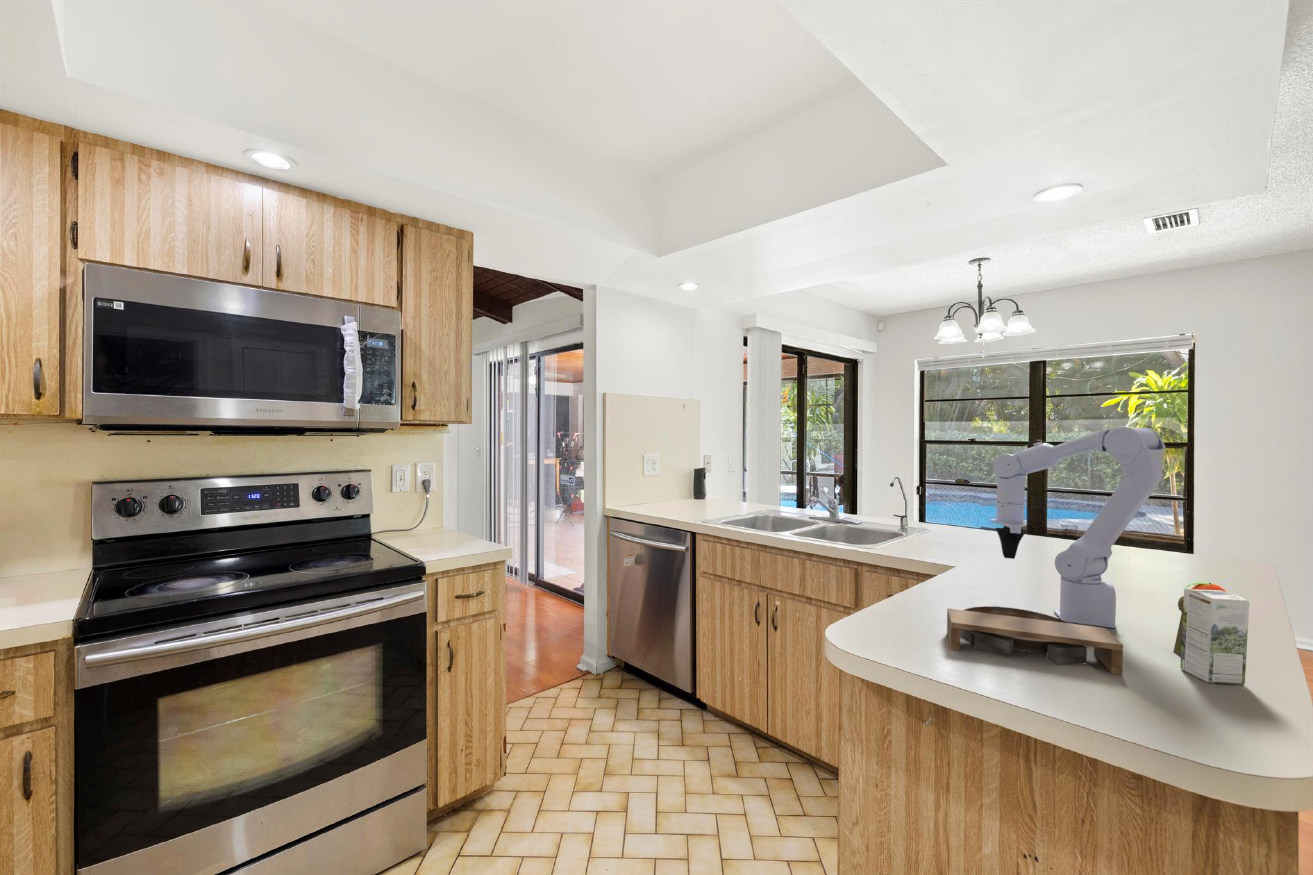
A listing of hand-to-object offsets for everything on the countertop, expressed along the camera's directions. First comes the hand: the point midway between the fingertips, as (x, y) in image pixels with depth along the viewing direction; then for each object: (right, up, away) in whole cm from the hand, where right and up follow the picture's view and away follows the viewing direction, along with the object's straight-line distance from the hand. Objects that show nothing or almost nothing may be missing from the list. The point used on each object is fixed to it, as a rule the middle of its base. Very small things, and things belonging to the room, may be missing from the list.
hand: (1009, 557), depth 137 cm
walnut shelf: (-17, -11, -33) cm, 39 cm away
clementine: (+41, -11, -8) cm, 43 cm away
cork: (+14, -11, -33) cm, 38 cm away
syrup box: (+8, -12, -42) cm, 45 cm away
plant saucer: (-14, -11, -24) cm, 30 cm away
